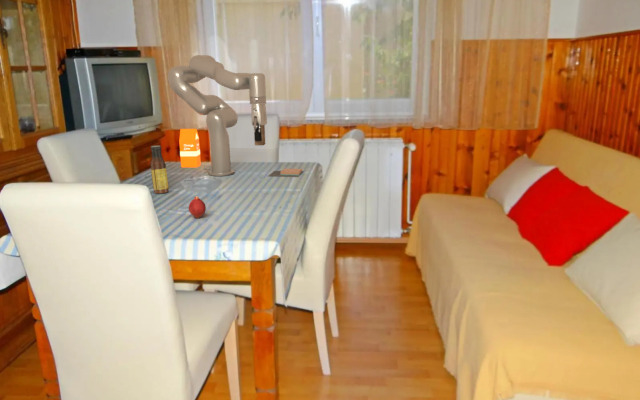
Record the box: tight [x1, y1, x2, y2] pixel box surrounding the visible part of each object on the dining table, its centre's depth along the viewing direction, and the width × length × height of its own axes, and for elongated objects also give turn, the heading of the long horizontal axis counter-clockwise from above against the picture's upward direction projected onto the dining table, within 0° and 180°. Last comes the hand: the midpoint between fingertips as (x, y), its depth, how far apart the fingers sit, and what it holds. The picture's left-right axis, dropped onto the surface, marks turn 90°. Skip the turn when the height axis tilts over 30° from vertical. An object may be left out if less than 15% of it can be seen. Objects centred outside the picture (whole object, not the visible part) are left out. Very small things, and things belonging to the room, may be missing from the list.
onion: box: [188, 195, 207, 219], centre depth 181 cm, size 6×6×8 cm
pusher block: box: [253, 124, 266, 146], centre depth 243 cm, size 4×4×10 cm
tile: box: [280, 168, 303, 176], centre depth 252 cm, size 2×8×9 cm
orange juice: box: [178, 128, 202, 168], centre depth 277 cm, size 8×9×20 cm
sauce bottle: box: [150, 145, 170, 195], centre depth 218 cm, size 6×6×20 cm
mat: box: [268, 170, 304, 178], centre depth 252 cm, size 15×14×1 cm
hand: (259, 139), depth 244 cm, fingers closed on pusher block, 4 cm apart
